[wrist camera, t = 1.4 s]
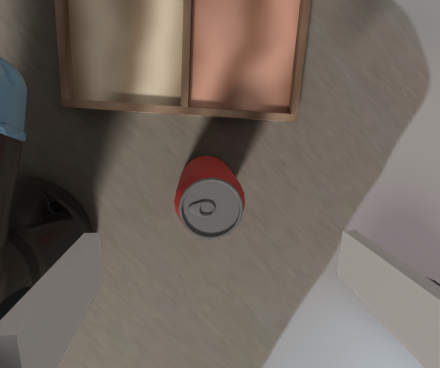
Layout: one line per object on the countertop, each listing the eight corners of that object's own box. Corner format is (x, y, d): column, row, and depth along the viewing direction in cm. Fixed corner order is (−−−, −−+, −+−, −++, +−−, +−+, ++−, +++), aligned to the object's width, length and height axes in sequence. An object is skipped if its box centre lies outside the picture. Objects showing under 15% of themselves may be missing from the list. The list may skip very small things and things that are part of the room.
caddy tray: (73, 107, 31) (61, 106, 28) (64, -31, 28) (51, -47, 25) (289, 121, 33) (296, 121, 31) (303, -4, 30) (313, -16, 28)
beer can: (181, 153, 33) (172, 170, 21) (233, 156, 34) (252, 173, 22) (180, 204, 35) (171, 245, 23) (230, 205, 35) (246, 246, 24)
